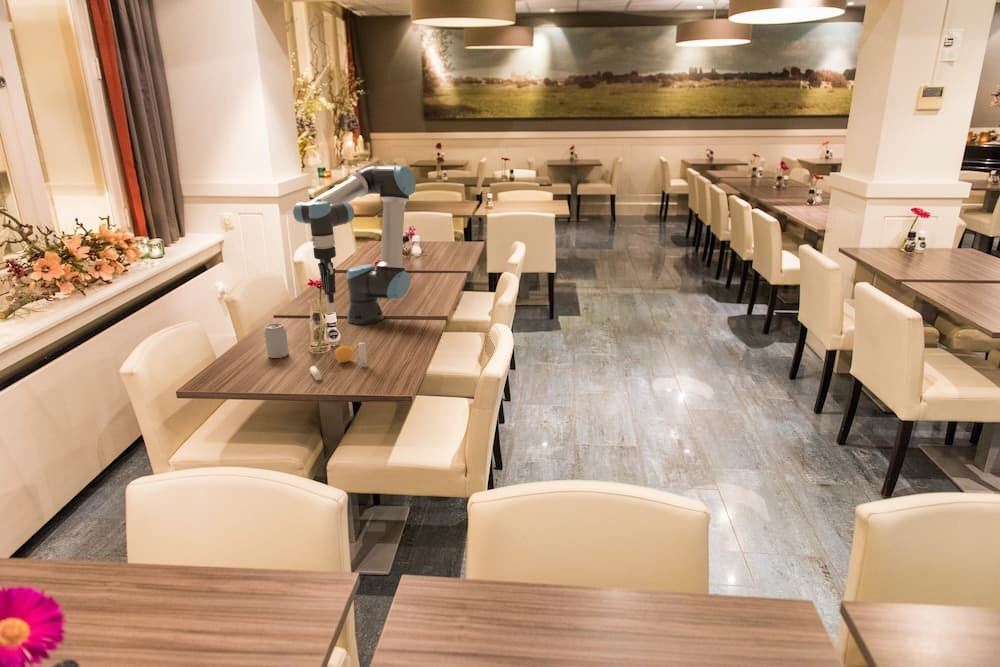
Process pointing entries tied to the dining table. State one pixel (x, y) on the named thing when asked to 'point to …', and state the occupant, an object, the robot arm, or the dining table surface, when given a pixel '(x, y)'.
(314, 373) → the pin
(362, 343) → the pin
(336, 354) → the ball
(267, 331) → the can
